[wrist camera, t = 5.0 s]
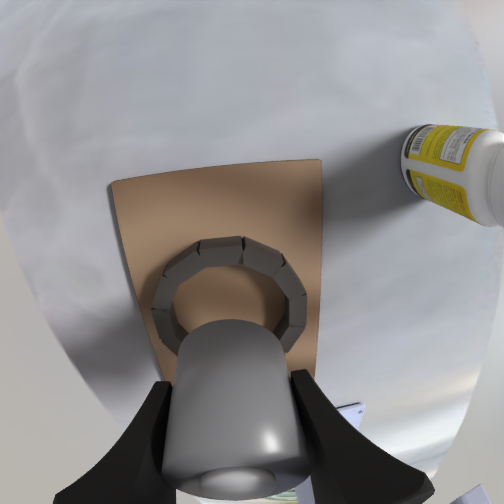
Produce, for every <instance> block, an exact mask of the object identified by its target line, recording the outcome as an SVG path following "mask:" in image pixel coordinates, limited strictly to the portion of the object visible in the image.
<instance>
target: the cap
mask: <svg viewBox="0 0 504 504" xmlns="http://www.w3.org/2000/svg"><path fill="white" fill-rule="evenodd" d="M311 472H312V464H311V460H310V456H309V452H308V448H307V444H306V440H305V435H304V431H303V427H302V423H301V419H300V415H299V411H298V407H297V403H296V399H295V395H294V391H293V387H292V383H291V379H290V375H289V372H288V368H287V364H286V360H285V356H284V352H283V348H282V345H281V343H280V341H279V340H278V338H277V337H276V336H275V335H274V334H273V333H272V332H271V331H269V330H268V329H267V328H265V327H263V326H261V325H259V324H256V323H254V322H250V321H246V320H240V319H223V320H216V321H212V322H209V323H206V324H203V325H201V326H199V327H197V328H196V329H194V330H193V331H191V332H190V333H189V334H188V335H187V336H186V337H185V338H184V340H183V341H182V343H181V345H180V348H179V351H178V357H177V363H176V369H175V375H174V382H173V388H172V395H171V402H170V408H169V416H168V423H167V430H166V438H165V446H164V455H163V464H162V476H163V478H164V480H165V481H166V482H167V483H168V484H170V485H171V486H173V487H174V488H176V489H178V490H180V491H183V492H185V493H188V494H191V495H194V496H198V497H203V498H209V499H216V500H233V501H238V500H250V499H258V498H263V497H268V496H272V495H276V494H279V493H282V492H285V491H288V490H290V489H292V488H294V487H296V486H298V485H300V484H301V483H303V482H304V481H305V480H306V479H307V478H308V477H309V476H310V475H311Z"/></svg>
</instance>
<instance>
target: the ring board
mask: <svg viewBox="0 0 504 504" xmlns="http://www.w3.org/2000/svg"><path fill="white" fill-rule="evenodd" d="M111 187H112V192H113V198H114V204H115V209H116V214H117V219H118V224H119V229H120V233H121V238H122V242H123V247H124V251H125V255H126V259H127V263H128V267H129V271H130V275H131V278H132V282H133V286H134V289H135V293H136V296H137V300H138V303H139V307H140V310H141V313H142V316H143V320H144V323H145V326H146V329H147V332H148V335H149V338H150V341H151V344H152V347H153V350H154V352H155V355H156V358H157V361H158V363H159V366H160V369H161V371H162V374H163V377H164V379H165V381H170V382H171V384H172V387H173V382H174V375H175V369H176V363H177V357H178V351H179V348H180V345H181V343H182V341H183V340H184V338H185V337H186V336H187V335H188V334H189V333H190V332H191V331H193V330H194V329H196V328H197V327H199V326H201V325H203V324H206V323H209V322H212V321H216V320H223V319H240V320H246V321H250V322H254V323H256V324H259V325H261V326H263V327H265V328H267V329H268V330H269V331H271V332H272V333H273V334H274V335H275V336H276V337H277V338H278V340H279V341H280V343H281V345H282V348H283V352H284V356H285V360H286V364H287V368H288V372H289V375H290V379H291V371H295V370H301V369H307V370H308V371H309V373H310V375H311V376H312V378H313V379H314V377H315V366H316V355H317V342H318V329H319V313H320V294H321V269H322V160H319V159H308V160H286V161H269V162H255V163H243V164H232V165H222V166H212V167H203V168H195V169H187V170H179V171H172V172H165V173H158V174H152V175H146V176H139V177H134V178H128V179H122V180H117V181H113V182H111Z"/></svg>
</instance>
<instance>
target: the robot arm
mask: <svg viewBox="0 0 504 504" xmlns="http://www.w3.org/2000/svg"><path fill="white" fill-rule="evenodd" d="M291 383H292V387H293V391H294V395H295V399H296V403H297V407H298V411H299V415H300V419H301V423H302V427H303V431H304V435H305V440H306V444H307V448H308V452H309V456H310V460H311V464H312V472H311V475H310V476H309V477H308V478H307V479H306V480H305V481H304V482H303V483H301V484H300V485H298V486H296V487H295V491H296V496H297V501H298V504H422V503H423V502H425V501H426V500H427V499H428V498H430V497H431V496H432V495H433V494H434V492H435V489H434V487H433V485H432V483H431V481H430V480H429V478H428V477H427V475H426V474H425V473H424V472H422V471H420V470H418V469H415V468H413V467H411V466H409V465H407V464H405V463H403V462H402V461H400V460H398V459H396V458H395V457H393V456H391V455H390V454H388V453H387V452H385V451H384V450H382V449H381V448H379V447H378V446H376V445H375V444H374V443H372V442H371V441H370V440H369V439H367V438H366V437H365V436H364V435H362V434H361V433H360V431H359V429H358V428H359V425H360V423H361V420H362V417H363V414H364V411H365V408H366V405H365V404H364V403H360V404H356V405H352V406H347V407H343V408H339V409H336V408H335V407H334V406H333V404H332V403H331V402H330V401H329V400H328V398H327V397H326V396H325V395H324V393H323V392H322V391H321V389H320V388H319V387H318V385H317V384H316V382H315V381H314V379H313V378H312V376H311V375H310V373H309V371H308V370H307V369H301V370H295V371H291ZM172 388H173V387H172V384H171V382H170V381H156V382H155V383H154V385H153V387H152V389H151V391H150V392H149V394H148V396H147V398H146V399H145V401H144V403H143V404H142V406H141V408H140V409H139V411H138V412H137V414H136V416H135V417H134V419H133V420H132V422H131V423H130V425H129V426H128V427H127V429H126V430H125V432H124V433H123V434H122V436H121V437H120V439H119V440H118V441H117V442H116V443H115V445H114V446H113V447H112V448H111V449H110V451H109V452H108V453H107V454H106V455H105V456H104V457H103V458H102V459H101V460H100V461H99V462H98V463H97V464H96V465H95V466H94V467H93V468H92V469H91V470H89V471H88V472H87V473H86V474H84V475H83V476H82V477H81V478H79V479H78V480H77V481H75V482H74V483H73V484H71V485H70V486H68V487H66V488H65V489H63V490H62V491H60V492H59V493H57V494H56V495H55V498H54V501H53V504H176V488H174V487H173V486H171V485H170V484H168V483H167V482H166V481H165V480H164V478H163V476H162V464H163V455H164V446H165V438H166V430H167V423H168V416H169V408H170V402H171V395H172ZM450 504H491V502H490V500H489V498H488V496H487V494H486V492H485V490H484V488H483V486H482V484H479V485H478V486H476V487H475V488H473V489H471V490H470V491H468V492H467V493H465V494H464V495H462V496H460V497H459V498H457V499H456V500H454V501H453V502H451V503H450Z"/></svg>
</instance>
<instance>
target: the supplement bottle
mask: <svg viewBox="0 0 504 504" xmlns="http://www.w3.org/2000/svg"><path fill="white" fill-rule="evenodd" d="M401 167H402V173H403V176H404V179H405V181H406V183H407V185H408V187H409V188H410V189H411V190H412V191H413V192H414V193H415V194H416V195H418V196H420V197H422V198H424V199H426V200H428V201H431V202H433V203H435V204H438V205H440V206H442V207H444V208H447V209H449V210H451V211H453V212H455V213H458V214H460V215H462V216H464V217H466V218H468V219H470V220H472V221H474V222H476V223H478V224H480V225H483V226H486V227H497V226H502V227H504V134H503V133H502V132H499V131H496V130H490V129H483V128H472V127H462V126H449V125H431V124H427V125H422V126H419V127H417V128H415V129H414V130H413V131H412V132H411V133H410V134H409V135H408V136H407V138H406V140H405V142H404V144H403V148H402V152H401Z"/></svg>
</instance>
